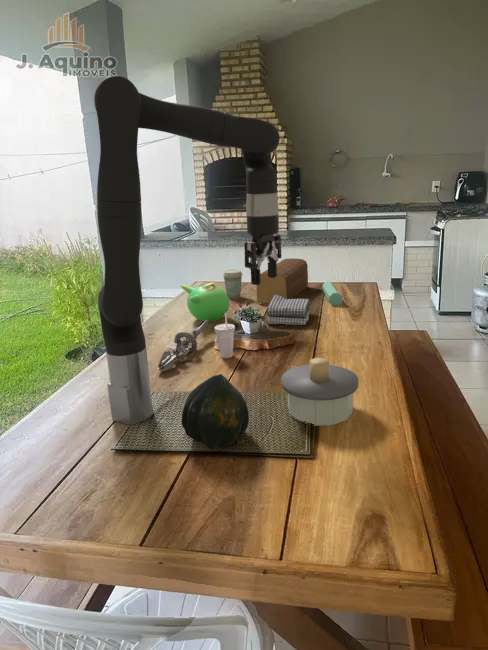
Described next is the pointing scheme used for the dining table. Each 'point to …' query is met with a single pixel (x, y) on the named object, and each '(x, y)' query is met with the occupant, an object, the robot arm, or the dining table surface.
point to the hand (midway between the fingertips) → (264, 280)
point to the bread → (284, 281)
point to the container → (332, 294)
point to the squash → (215, 413)
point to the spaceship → (180, 347)
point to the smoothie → (225, 338)
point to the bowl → (321, 409)
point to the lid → (319, 381)
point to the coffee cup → (233, 283)
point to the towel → (288, 311)
